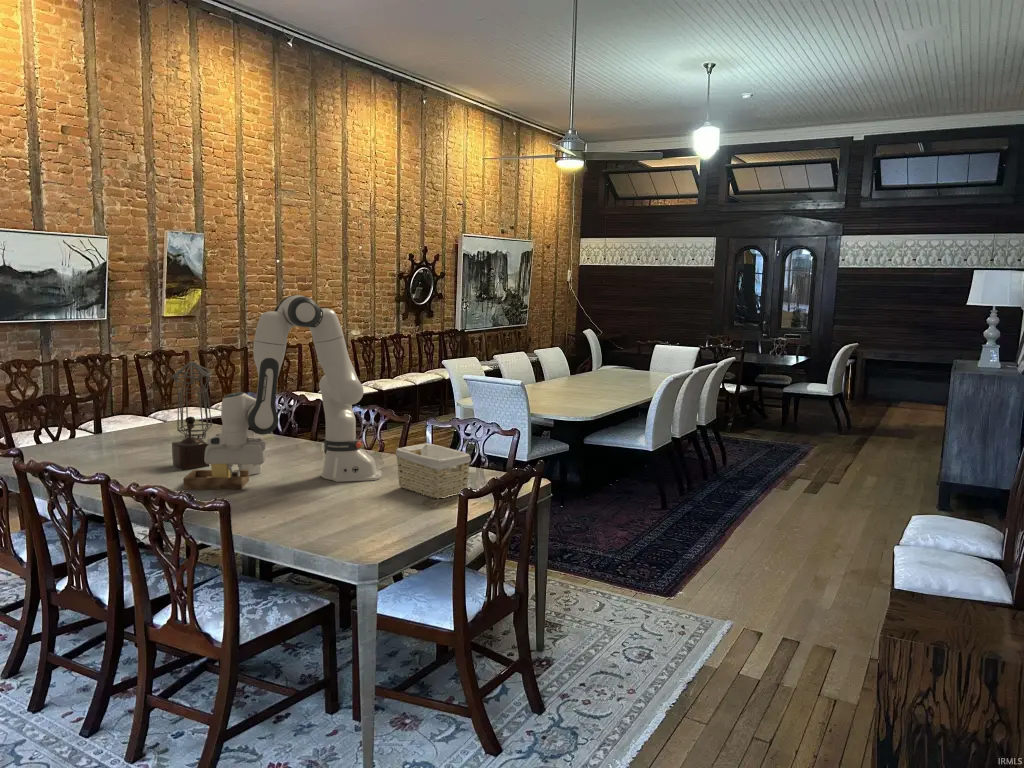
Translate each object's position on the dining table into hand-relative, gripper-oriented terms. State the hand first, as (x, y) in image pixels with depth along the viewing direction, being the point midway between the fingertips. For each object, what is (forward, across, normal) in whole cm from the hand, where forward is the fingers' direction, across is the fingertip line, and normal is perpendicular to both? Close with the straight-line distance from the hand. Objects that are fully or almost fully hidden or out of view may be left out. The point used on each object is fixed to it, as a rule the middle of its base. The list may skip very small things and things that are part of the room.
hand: (235, 476), depth 269 cm
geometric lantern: (+3, +38, -83) cm, 91 cm away
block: (+1, +5, 0) cm, 5 cm away
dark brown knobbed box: (+4, +25, -31) cm, 40 cm away
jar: (+3, -1, -19) cm, 19 cm away
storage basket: (+4, -70, +7) cm, 70 cm away
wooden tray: (+3, +6, 0) cm, 7 cm away
